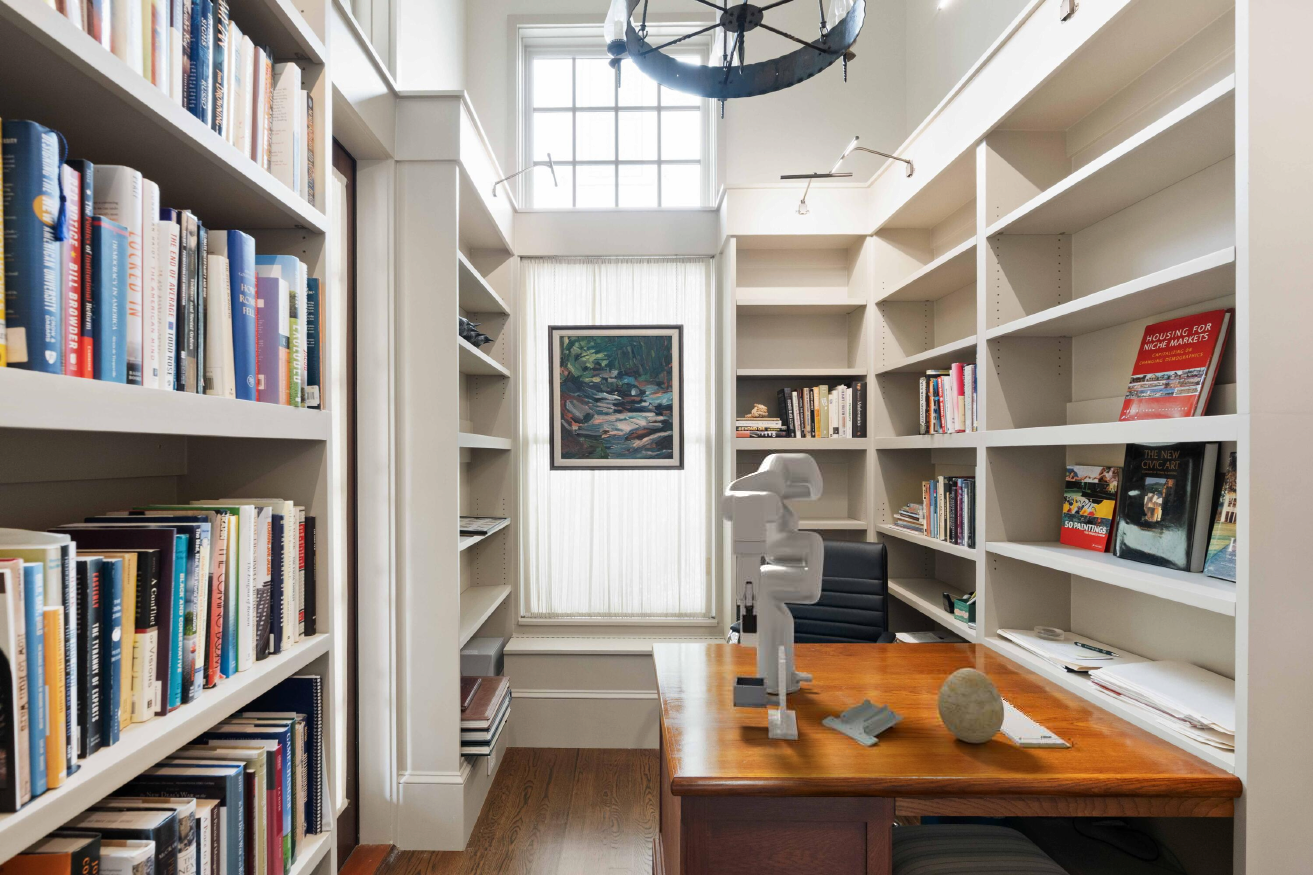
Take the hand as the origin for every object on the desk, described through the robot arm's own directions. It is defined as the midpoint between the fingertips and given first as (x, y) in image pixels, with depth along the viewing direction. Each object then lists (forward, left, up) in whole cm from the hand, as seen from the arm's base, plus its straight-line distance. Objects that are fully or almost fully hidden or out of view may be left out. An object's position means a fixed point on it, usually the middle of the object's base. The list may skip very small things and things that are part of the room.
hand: (749, 629), depth 156 cm
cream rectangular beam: (0, 0, -3) cm, 3 cm away
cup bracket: (-3, 0, -21) cm, 21 cm away
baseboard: (-59, -12, -22) cm, 64 cm away
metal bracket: (-25, -1, -22) cm, 33 cm away
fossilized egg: (-46, +2, -21) cm, 51 cm away
